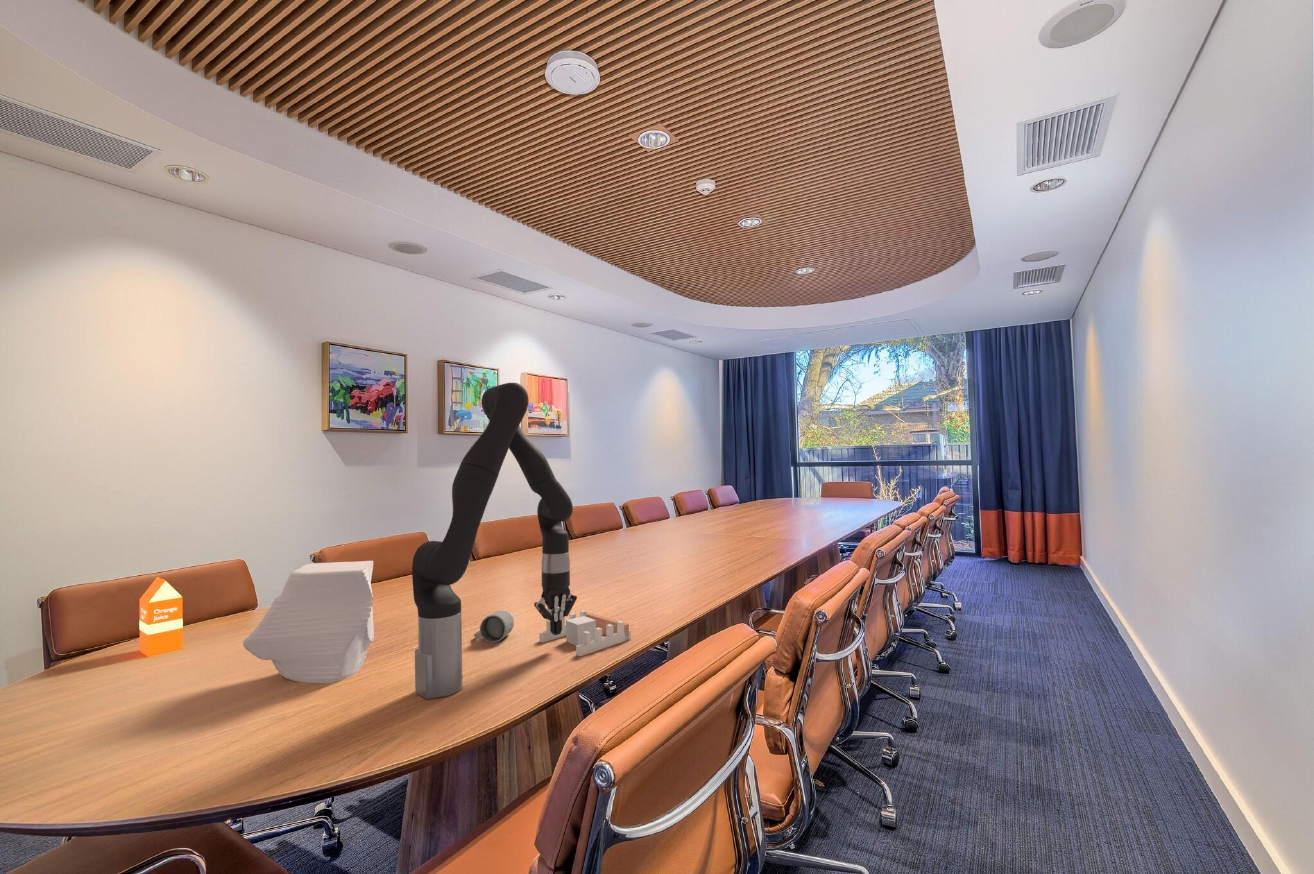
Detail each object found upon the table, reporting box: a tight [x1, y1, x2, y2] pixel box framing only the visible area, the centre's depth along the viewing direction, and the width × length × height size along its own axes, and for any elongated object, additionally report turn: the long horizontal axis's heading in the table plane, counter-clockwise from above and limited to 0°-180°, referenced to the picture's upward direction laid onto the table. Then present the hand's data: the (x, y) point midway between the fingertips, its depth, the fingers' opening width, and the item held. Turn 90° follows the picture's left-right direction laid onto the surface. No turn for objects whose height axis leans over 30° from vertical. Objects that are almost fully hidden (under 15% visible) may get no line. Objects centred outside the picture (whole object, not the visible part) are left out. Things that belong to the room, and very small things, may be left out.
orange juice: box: [138, 576, 184, 658], centre depth 164 cm, size 8×9×20 cm
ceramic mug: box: [473, 610, 515, 644], centre depth 168 cm, size 11×8×8 cm
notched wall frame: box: [539, 609, 632, 657], centre depth 164 cm, size 18×18×5 cm
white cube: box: [565, 616, 596, 647], centre depth 163 cm, size 6×6×6 cm
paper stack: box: [242, 560, 375, 684], centre depth 147 cm, size 21×27×26 cm
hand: (556, 634), depth 157 cm, fingers closed
